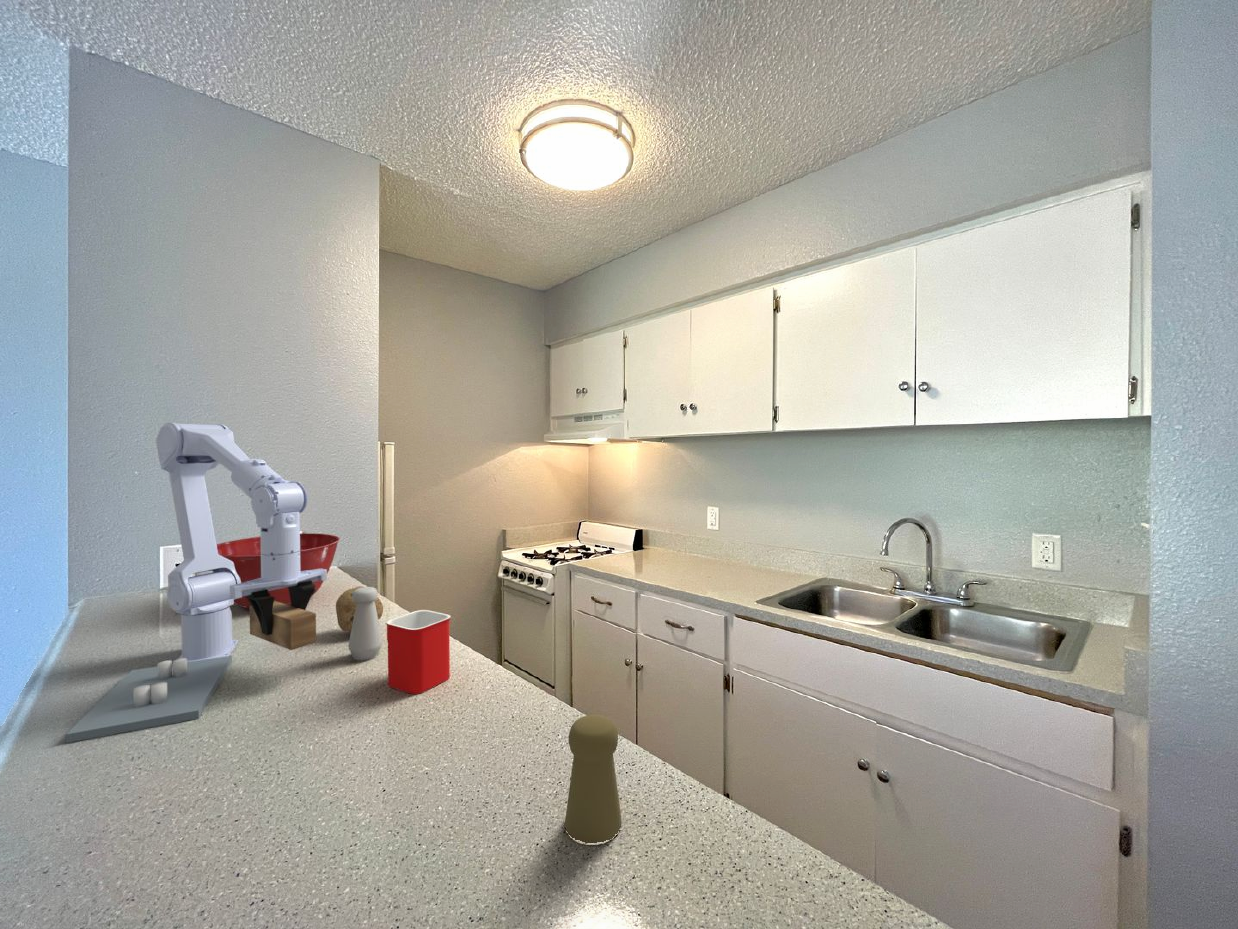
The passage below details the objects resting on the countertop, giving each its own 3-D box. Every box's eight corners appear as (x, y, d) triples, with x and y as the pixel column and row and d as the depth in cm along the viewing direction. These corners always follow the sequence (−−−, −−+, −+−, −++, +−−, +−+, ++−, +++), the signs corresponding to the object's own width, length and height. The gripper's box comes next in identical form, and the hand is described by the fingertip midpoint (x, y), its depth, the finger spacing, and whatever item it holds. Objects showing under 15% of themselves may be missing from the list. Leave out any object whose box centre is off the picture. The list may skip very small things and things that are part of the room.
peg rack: (131, 677, 88) (131, 656, 88) (232, 662, 94) (231, 642, 94) (66, 743, 68) (65, 716, 68) (198, 718, 75) (198, 693, 75)
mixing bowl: (296, 621, 117) (295, 554, 116) (172, 620, 117) (171, 553, 117) (360, 587, 145) (360, 533, 144) (261, 587, 145) (259, 533, 145)
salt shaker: (368, 664, 94) (367, 593, 93) (341, 661, 95) (340, 591, 94) (389, 651, 99) (388, 585, 99) (363, 649, 101) (362, 583, 100)
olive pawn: (565, 805, 57) (565, 708, 56) (619, 802, 57) (619, 705, 57) (563, 848, 51) (563, 739, 50) (624, 844, 51) (624, 736, 51)
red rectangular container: (455, 677, 89) (455, 616, 88) (416, 697, 81) (415, 631, 81) (408, 662, 94) (408, 605, 94) (367, 680, 87) (367, 618, 87)
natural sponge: (385, 624, 115) (385, 580, 115) (380, 638, 106) (380, 590, 106) (340, 628, 112) (339, 583, 112) (331, 643, 104) (330, 594, 103)
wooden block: (249, 634, 91) (249, 606, 91) (274, 627, 95) (274, 600, 94) (291, 650, 84) (290, 620, 84) (316, 642, 87) (315, 613, 87)
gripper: (242, 562, 81) (243, 647, 81) (335, 547, 93) (336, 622, 93) (223, 557, 84) (225, 638, 85) (315, 543, 97) (316, 615, 97)
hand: (282, 629), depth 89 cm, fingers closed on wooden block, 4 cm apart
